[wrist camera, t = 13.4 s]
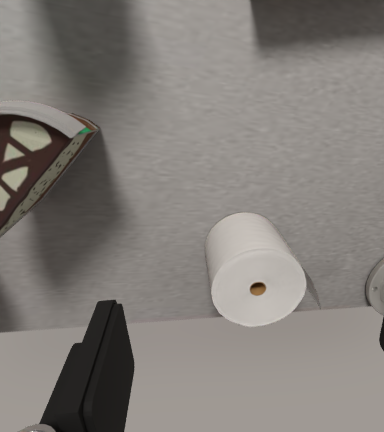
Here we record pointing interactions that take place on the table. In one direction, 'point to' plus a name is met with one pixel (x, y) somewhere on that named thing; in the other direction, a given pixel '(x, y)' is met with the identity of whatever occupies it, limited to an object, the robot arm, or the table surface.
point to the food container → (35, 154)
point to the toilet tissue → (253, 271)
